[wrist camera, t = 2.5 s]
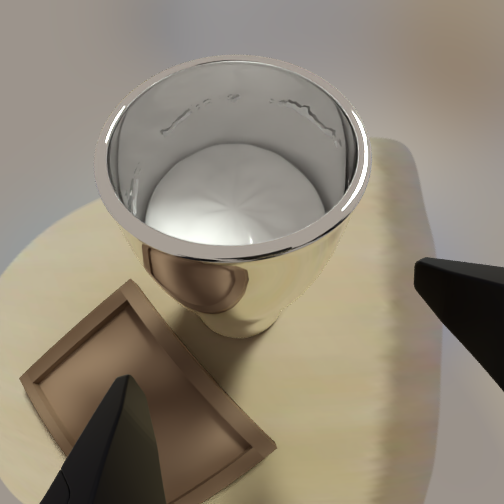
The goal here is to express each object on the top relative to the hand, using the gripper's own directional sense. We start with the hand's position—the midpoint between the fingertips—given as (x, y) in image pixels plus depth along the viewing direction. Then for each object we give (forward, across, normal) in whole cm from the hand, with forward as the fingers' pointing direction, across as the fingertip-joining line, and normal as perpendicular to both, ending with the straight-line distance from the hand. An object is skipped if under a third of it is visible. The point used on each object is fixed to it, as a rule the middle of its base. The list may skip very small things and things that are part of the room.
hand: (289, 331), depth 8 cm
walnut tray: (+7, +10, +9) cm, 15 cm away
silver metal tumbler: (+11, 0, +5) cm, 13 cm away
